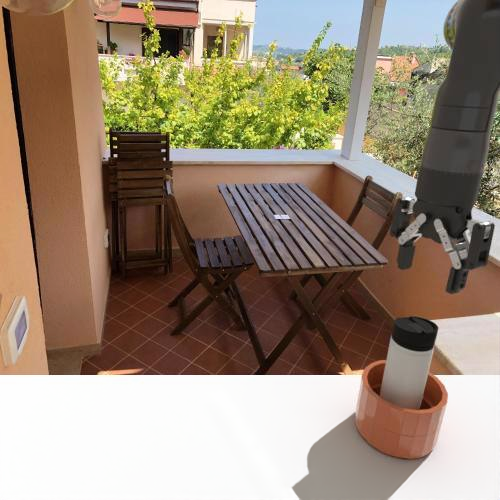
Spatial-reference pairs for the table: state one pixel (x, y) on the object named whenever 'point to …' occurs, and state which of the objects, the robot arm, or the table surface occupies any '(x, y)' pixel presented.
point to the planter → (399, 416)
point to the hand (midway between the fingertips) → (426, 279)
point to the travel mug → (408, 361)
